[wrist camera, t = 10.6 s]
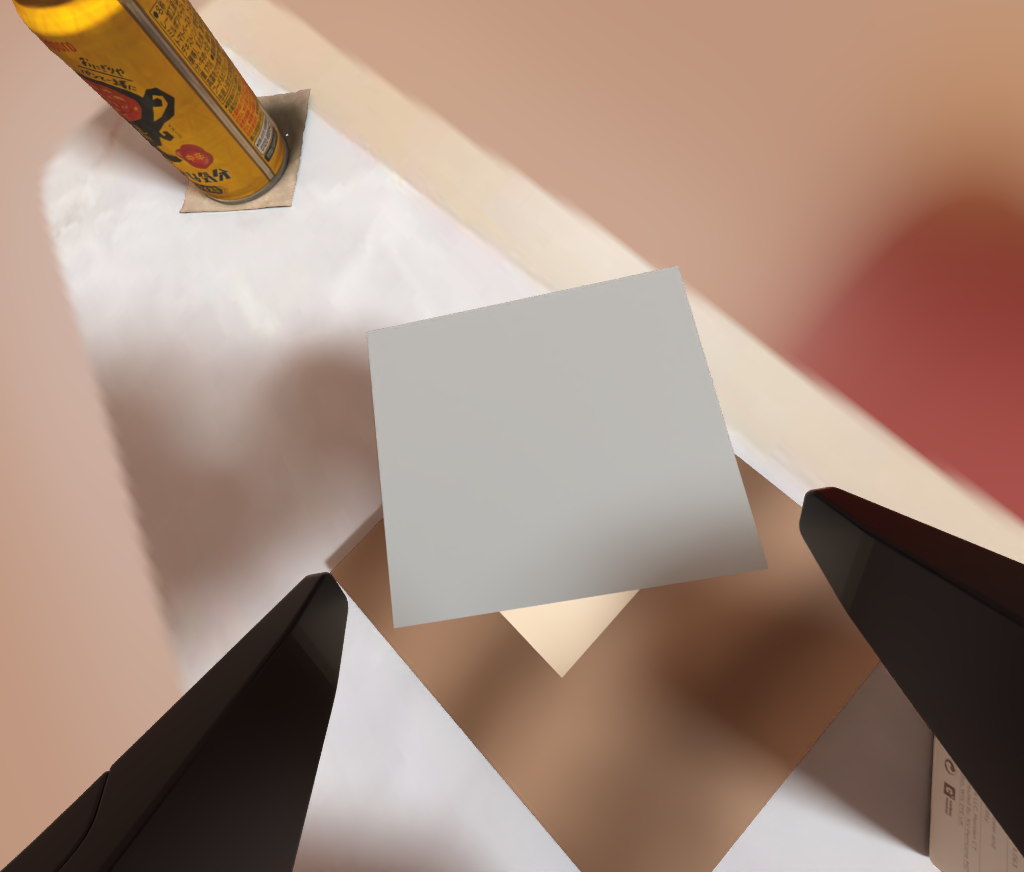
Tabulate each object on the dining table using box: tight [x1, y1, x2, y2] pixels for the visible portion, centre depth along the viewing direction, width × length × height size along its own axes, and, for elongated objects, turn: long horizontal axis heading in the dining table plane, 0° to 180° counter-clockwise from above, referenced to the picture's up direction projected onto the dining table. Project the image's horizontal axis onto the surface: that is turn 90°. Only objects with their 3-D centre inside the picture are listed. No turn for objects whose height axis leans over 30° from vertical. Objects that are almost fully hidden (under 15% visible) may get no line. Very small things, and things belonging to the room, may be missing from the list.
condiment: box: [13, 0, 310, 212], centre depth 20 cm, size 7×8×12 cm
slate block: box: [367, 266, 769, 628], centre depth 12 cm, size 4×5×12 cm
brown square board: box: [330, 454, 881, 872], centre depth 18 cm, size 18×16×1 cm
